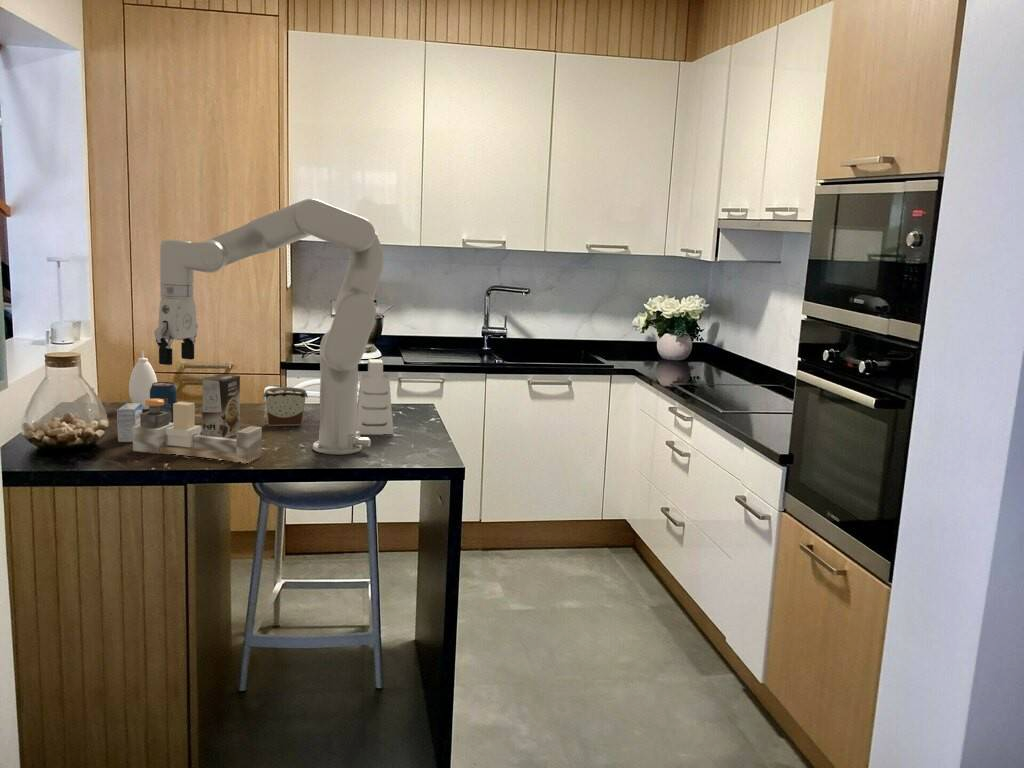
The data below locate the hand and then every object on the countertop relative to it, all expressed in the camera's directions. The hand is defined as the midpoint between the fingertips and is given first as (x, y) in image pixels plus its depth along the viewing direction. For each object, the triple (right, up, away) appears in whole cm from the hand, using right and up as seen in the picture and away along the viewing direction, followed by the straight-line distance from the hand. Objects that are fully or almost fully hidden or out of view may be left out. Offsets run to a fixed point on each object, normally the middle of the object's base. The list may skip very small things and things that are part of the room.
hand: (176, 361), depth 223 cm
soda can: (-14, -17, +28) cm, 35 cm away
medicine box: (-17, -20, +13) cm, 29 cm away
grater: (+42, -19, +38) cm, 60 cm away
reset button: (-7, -13, +4) cm, 15 cm away
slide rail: (+4, -23, +3) cm, 23 cm away
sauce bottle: (-27, -13, +46) cm, 55 cm away
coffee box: (+4, -20, +21) cm, 29 cm away
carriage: (0, -20, +3) cm, 21 cm away
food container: (+16, -17, +40) cm, 46 cm away
